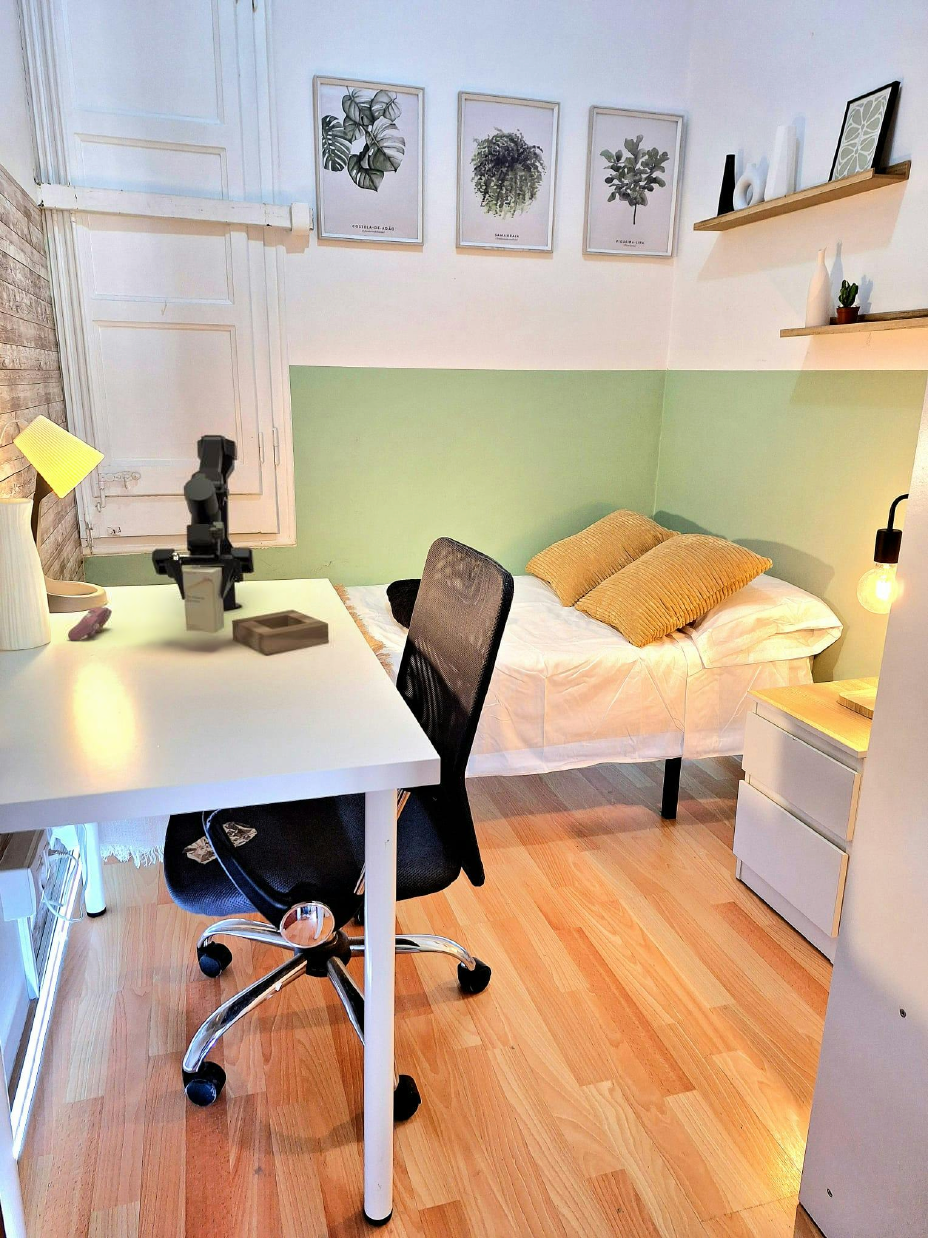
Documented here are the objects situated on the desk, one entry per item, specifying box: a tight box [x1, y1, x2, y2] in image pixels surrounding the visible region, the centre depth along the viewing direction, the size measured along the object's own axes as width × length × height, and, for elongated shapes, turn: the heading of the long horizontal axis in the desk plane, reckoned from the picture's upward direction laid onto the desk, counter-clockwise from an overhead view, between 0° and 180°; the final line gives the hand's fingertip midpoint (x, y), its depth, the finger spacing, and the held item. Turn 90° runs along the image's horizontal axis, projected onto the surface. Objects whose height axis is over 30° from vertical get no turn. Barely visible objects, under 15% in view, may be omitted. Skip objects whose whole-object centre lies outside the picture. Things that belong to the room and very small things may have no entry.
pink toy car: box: [67, 605, 112, 641], centre depth 173 cm, size 10×5×7 cm, turn 179°
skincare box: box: [182, 565, 225, 634], centre depth 162 cm, size 6×4×12 cm
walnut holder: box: [231, 609, 329, 656], centre depth 171 cm, size 14×14×4 cm
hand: (202, 598), depth 161 cm, fingers closed on skincare box, 7 cm apart
